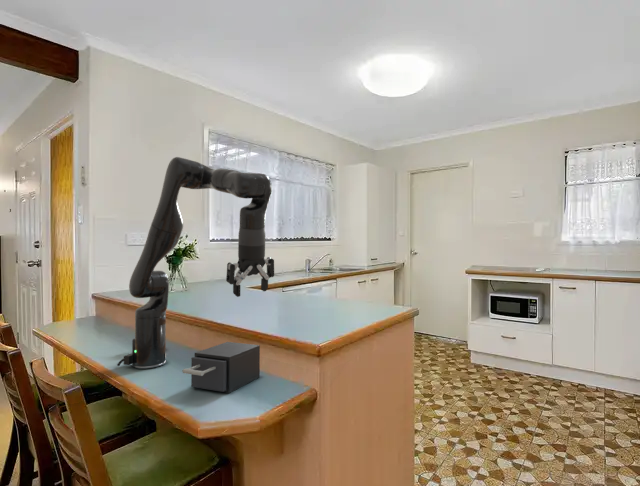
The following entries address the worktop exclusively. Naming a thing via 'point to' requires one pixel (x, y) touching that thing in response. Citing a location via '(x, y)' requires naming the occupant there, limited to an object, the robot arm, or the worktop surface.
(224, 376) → the dark grey drawer
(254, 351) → the dark grey drawer box
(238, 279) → the robot arm
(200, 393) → the worktop surface
